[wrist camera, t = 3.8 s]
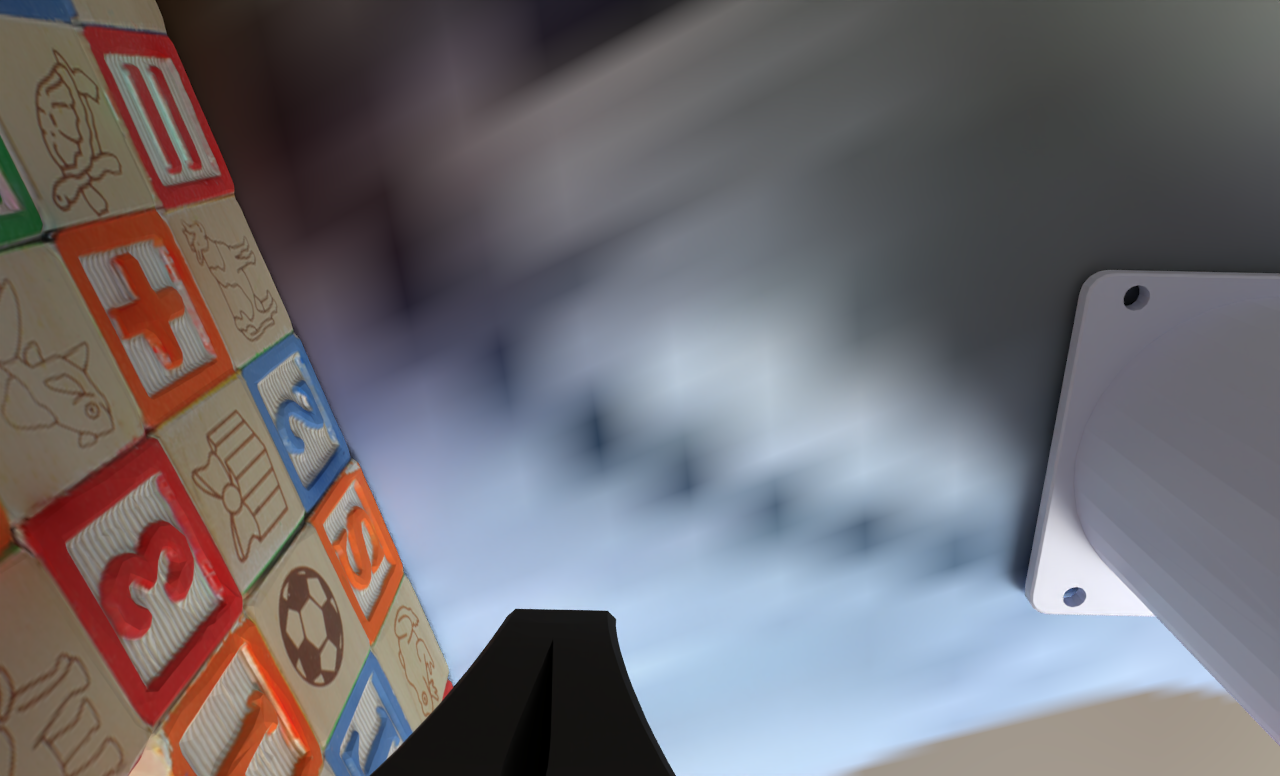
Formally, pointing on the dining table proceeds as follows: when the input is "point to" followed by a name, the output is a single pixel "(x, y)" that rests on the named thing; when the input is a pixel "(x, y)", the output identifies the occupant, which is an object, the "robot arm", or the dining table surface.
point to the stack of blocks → (170, 450)
